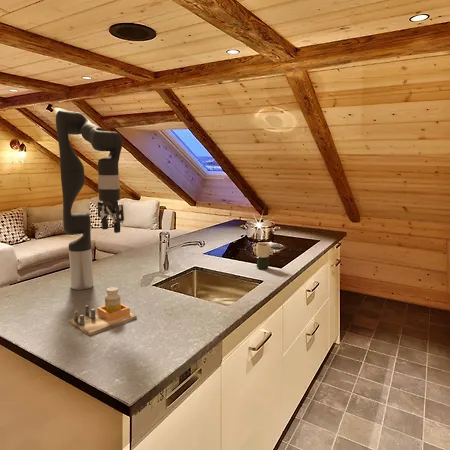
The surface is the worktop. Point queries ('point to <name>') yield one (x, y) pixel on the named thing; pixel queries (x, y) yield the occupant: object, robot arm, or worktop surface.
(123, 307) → the box
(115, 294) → the supplement bottle
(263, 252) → the character mug
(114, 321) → the board
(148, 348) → the worktop surface
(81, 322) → the set of grey pegs
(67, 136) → the robot arm
